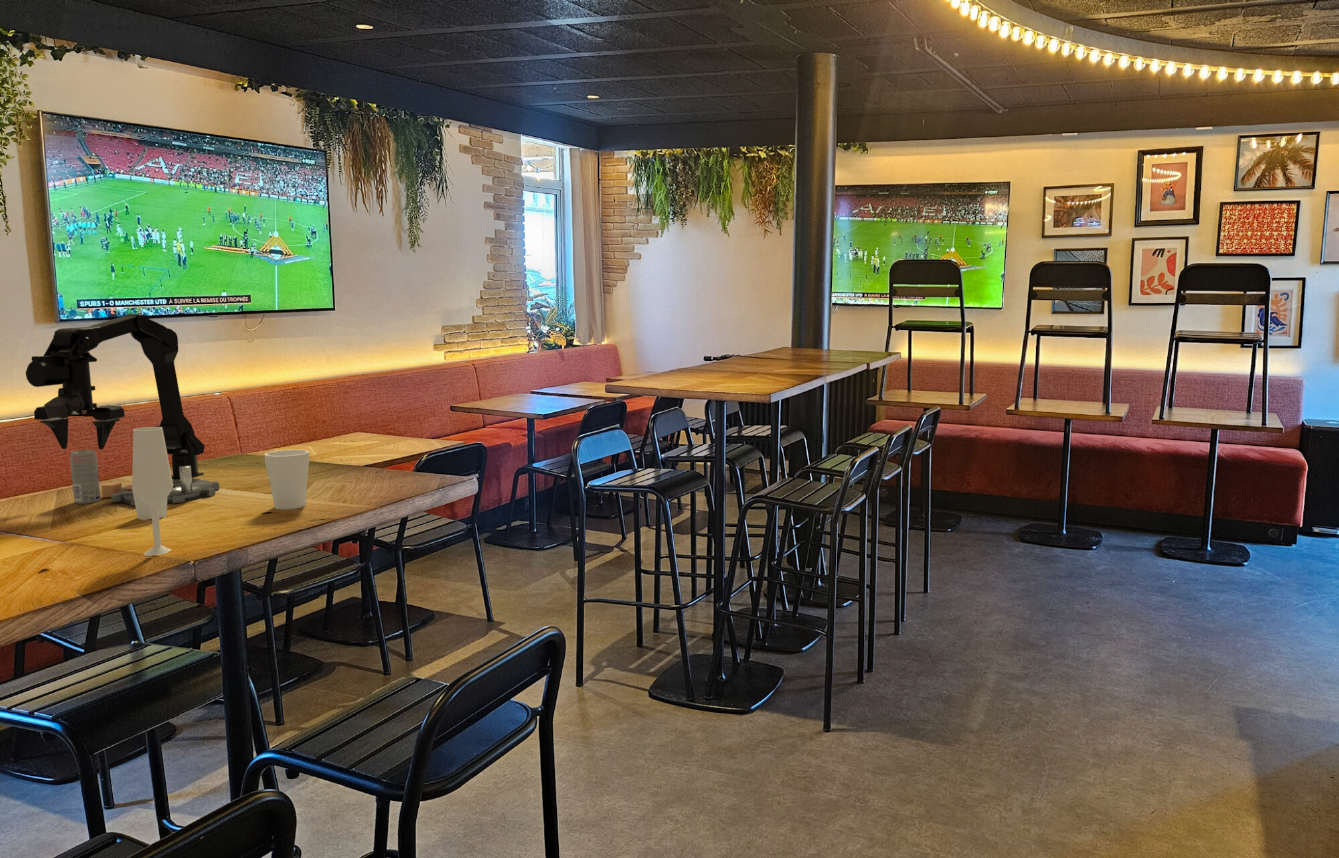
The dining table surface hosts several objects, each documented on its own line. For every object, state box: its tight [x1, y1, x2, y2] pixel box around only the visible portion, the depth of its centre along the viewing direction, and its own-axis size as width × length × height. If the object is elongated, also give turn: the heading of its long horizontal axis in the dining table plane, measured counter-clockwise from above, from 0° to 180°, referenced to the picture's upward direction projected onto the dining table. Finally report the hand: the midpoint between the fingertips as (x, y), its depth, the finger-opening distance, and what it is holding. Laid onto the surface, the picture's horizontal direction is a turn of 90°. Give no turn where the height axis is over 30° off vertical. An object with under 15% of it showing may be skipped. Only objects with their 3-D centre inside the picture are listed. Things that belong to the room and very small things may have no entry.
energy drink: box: [69, 449, 102, 505], centre depth 228 cm, size 5×5×12 cm
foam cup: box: [264, 448, 310, 510], centre depth 218 cm, size 10×9×13 cm
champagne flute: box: [131, 426, 173, 556], centre depth 179 cm, size 7×7×24 cm
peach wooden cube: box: [100, 482, 123, 498], centre depth 234 cm, size 3×3×3 cm
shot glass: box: [132, 490, 168, 521], centre depth 211 cm, size 7×7×7 cm
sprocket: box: [111, 466, 220, 506], centre depth 232 cm, size 23×23×8 cm
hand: (82, 449), depth 227 cm, fingers open, 9 cm apart
